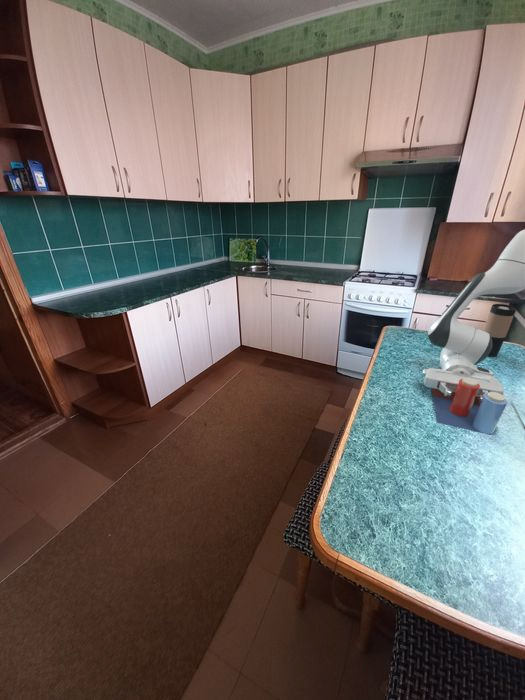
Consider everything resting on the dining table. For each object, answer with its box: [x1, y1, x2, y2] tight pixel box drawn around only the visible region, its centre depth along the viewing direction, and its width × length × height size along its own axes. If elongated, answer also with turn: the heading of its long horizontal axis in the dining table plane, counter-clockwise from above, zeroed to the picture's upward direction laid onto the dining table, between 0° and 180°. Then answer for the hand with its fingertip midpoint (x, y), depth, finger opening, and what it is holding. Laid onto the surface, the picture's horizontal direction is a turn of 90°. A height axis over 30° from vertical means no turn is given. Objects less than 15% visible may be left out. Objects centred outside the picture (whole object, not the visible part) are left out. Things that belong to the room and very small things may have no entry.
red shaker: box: [449, 378, 480, 417], centre depth 84 cm, size 5×5×11 cm
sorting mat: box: [431, 388, 492, 436], centre depth 91 cm, size 13×27×1 cm, turn 156°
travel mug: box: [482, 303, 517, 358], centre depth 115 cm, size 8×8×20 cm
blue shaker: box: [472, 392, 508, 435], centre depth 78 cm, size 5×5×11 cm
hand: (465, 397), depth 83 cm, fingers open, 7 cm apart
